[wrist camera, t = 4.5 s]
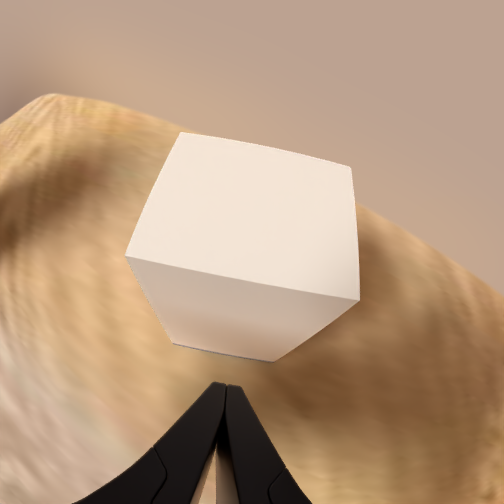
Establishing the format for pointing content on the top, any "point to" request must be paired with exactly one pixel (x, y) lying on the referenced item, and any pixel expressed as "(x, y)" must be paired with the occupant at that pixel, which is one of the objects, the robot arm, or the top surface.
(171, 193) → the plain white block
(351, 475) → the top surface
